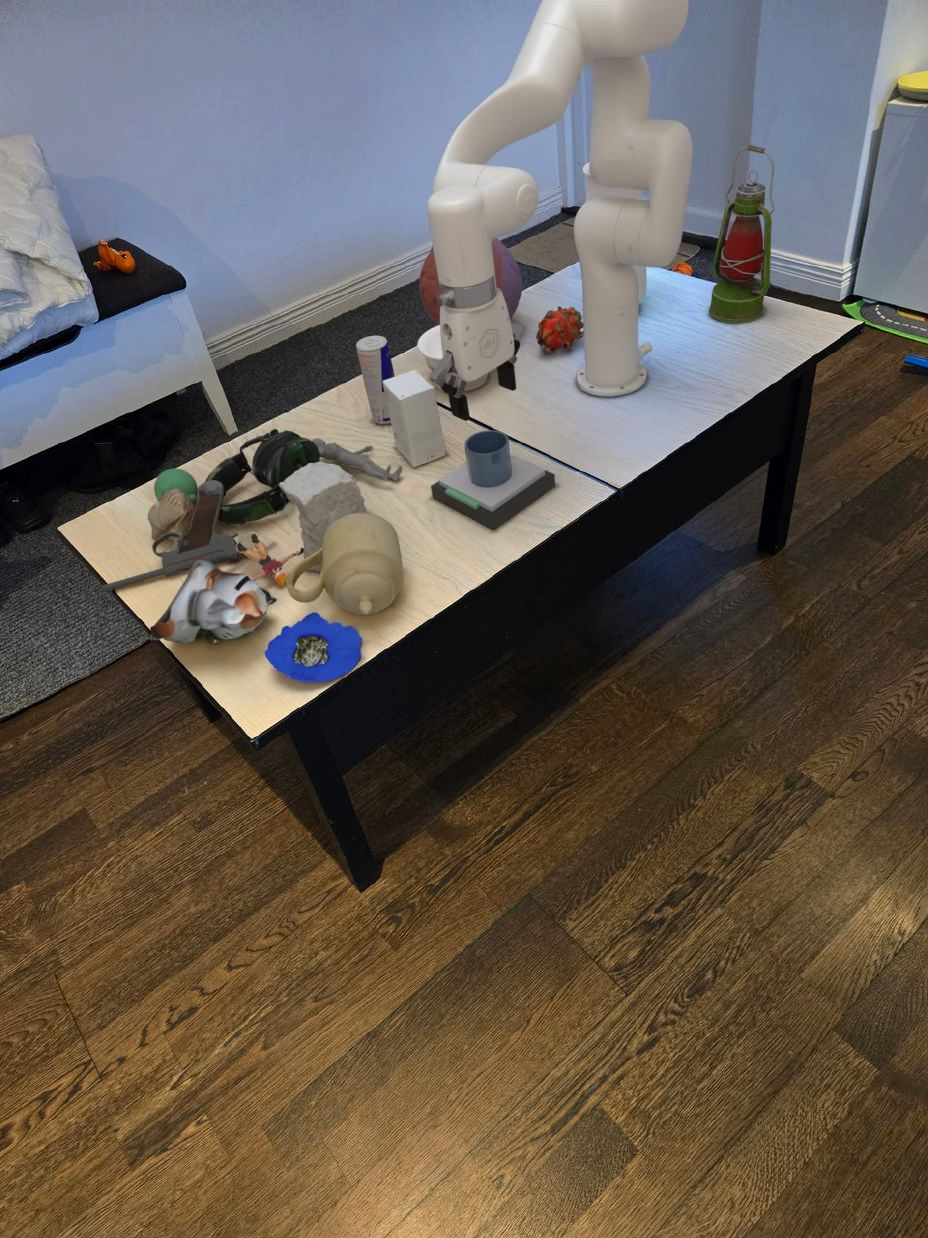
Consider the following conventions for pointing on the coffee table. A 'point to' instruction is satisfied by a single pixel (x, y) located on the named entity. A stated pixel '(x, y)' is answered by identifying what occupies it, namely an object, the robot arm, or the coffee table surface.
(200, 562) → the lucky cat figurine
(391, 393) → the small box
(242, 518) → the headphones
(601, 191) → the vase
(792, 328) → the coffee table surface
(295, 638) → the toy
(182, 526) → the seashell
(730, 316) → the lantern
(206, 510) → the handgun
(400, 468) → the action figure
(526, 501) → the scale
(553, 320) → the dragon fruit
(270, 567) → the action figure
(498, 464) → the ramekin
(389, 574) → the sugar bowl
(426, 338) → the bowl
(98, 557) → the coffee table surface
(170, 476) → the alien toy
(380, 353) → the beverage can
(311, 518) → the decorative stone
